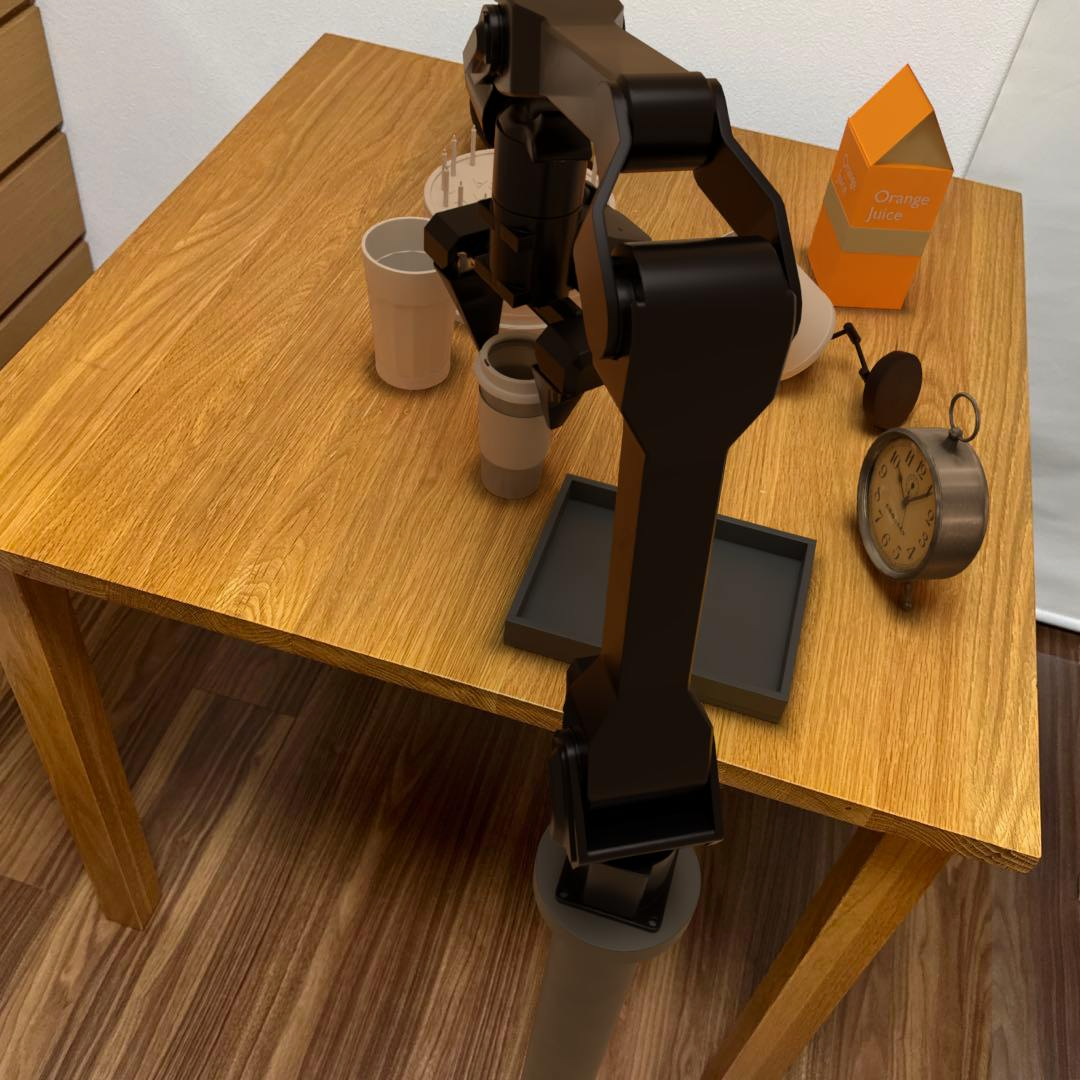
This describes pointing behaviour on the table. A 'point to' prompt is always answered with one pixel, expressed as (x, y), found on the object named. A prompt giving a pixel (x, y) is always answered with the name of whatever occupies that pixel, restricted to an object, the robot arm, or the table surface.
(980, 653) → the table surface
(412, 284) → the cup
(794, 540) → the tray
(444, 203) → the cake
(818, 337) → the light fixture
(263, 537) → the table surface
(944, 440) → the alarm clock
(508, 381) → the cup
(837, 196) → the orange juice
